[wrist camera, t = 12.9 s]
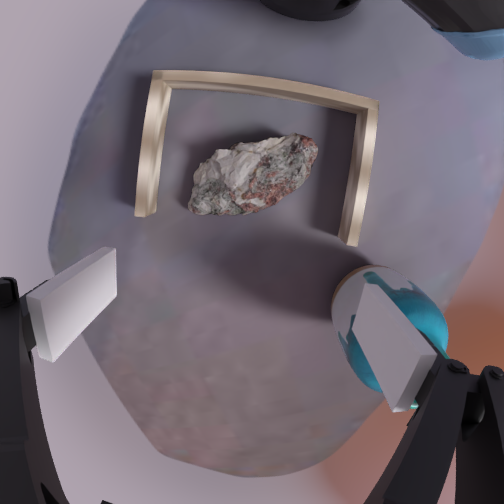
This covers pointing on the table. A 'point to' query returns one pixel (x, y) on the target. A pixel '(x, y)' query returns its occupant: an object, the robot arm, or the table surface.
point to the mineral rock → (252, 175)
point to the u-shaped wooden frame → (270, 88)
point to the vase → (405, 298)
